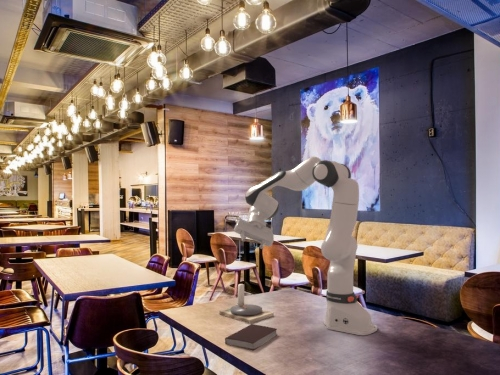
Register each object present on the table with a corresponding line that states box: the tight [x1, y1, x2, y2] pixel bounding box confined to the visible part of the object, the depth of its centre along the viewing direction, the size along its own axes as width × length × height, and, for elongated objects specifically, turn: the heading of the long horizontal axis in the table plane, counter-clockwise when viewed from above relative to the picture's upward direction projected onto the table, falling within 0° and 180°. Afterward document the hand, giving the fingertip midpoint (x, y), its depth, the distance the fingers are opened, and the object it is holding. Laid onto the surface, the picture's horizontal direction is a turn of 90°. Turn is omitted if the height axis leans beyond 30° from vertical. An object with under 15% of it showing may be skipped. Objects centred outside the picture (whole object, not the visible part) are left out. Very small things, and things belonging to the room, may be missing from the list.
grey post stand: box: [230, 283, 263, 315], centre depth 183 cm, size 17×15×11 cm
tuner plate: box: [219, 307, 274, 325], centre depth 181 cm, size 20×16×2 cm
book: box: [224, 323, 278, 351], centre depth 150 cm, size 12×19×3 cm, turn 149°
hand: (252, 244), depth 183 cm, fingers open, 8 cm apart
